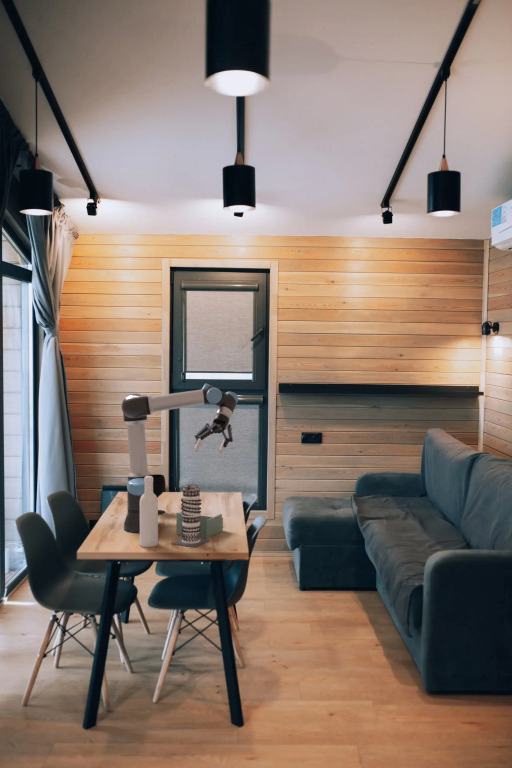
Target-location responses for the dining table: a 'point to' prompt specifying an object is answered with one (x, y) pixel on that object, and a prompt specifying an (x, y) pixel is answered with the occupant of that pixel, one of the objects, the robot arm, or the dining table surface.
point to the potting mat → (190, 544)
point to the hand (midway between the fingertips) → (208, 451)
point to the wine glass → (158, 487)
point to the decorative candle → (191, 514)
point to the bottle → (148, 515)
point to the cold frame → (203, 525)
